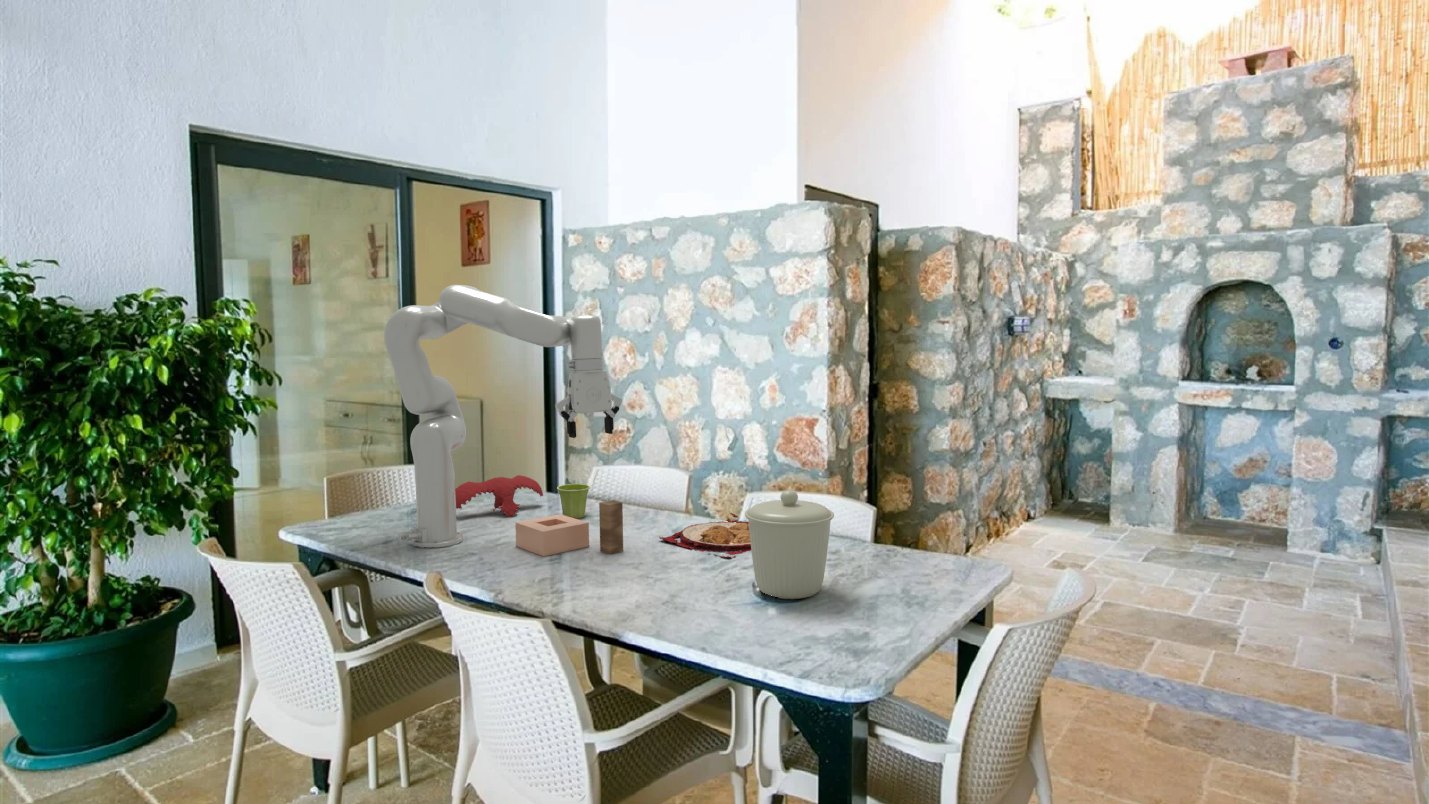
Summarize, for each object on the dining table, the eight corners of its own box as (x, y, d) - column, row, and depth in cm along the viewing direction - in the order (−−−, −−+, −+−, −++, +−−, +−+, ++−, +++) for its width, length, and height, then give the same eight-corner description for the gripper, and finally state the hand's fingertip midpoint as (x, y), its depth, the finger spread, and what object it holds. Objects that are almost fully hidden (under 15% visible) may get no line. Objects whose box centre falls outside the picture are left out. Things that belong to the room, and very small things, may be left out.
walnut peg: (609, 554, 202) (608, 505, 201) (600, 551, 205) (599, 502, 204) (623, 551, 205) (622, 502, 204) (613, 548, 208) (612, 500, 207)
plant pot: (597, 515, 244) (596, 485, 243) (575, 521, 236) (575, 491, 235) (572, 511, 249) (572, 482, 248) (550, 518, 241) (550, 488, 240)
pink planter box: (543, 556, 201) (542, 531, 200) (516, 546, 211) (515, 522, 210) (589, 546, 210) (588, 522, 209) (560, 536, 219) (560, 514, 219)
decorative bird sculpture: (548, 521, 255) (531, 481, 262) (559, 504, 250) (541, 463, 256) (458, 537, 237) (443, 493, 244) (467, 519, 232) (451, 474, 238)
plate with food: (657, 544, 214) (657, 530, 214) (729, 523, 233) (729, 511, 233) (728, 564, 197) (727, 550, 197) (799, 540, 216) (799, 526, 216)
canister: (762, 610, 162) (762, 502, 160) (733, 583, 179) (733, 485, 177) (848, 601, 167) (849, 496, 165) (812, 575, 184) (813, 480, 182)
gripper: (559, 368, 199) (563, 440, 200) (626, 364, 208) (629, 433, 209) (548, 367, 205) (552, 437, 207) (613, 363, 214) (616, 430, 216)
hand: (590, 435), depth 208 cm, fingers open, 9 cm apart
